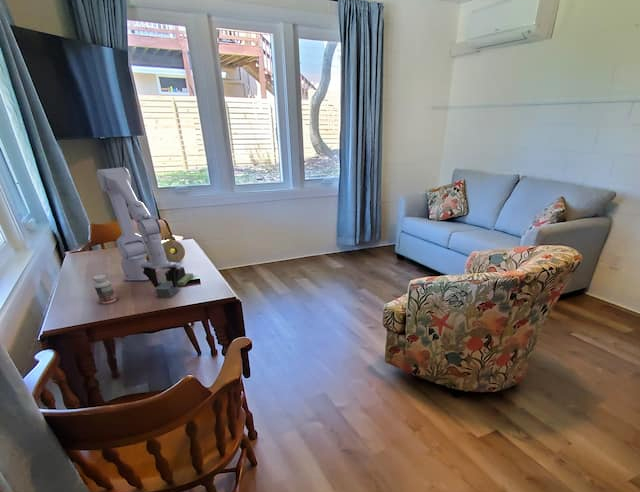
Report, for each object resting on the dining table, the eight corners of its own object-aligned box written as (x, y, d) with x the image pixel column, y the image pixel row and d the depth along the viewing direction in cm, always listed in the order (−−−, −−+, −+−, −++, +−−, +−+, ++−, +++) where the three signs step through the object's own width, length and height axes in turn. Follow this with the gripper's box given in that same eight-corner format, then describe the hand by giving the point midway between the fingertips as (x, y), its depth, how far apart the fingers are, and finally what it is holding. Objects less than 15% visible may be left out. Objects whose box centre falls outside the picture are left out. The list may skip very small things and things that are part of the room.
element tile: (171, 256, 194) (168, 247, 191) (138, 259, 191) (135, 249, 188) (176, 247, 206) (174, 238, 203) (145, 250, 203) (143, 240, 201)
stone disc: (164, 264, 184) (158, 243, 179) (163, 262, 187) (157, 241, 182) (187, 260, 189) (182, 239, 183) (186, 258, 191) (181, 237, 186)
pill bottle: (98, 301, 151) (88, 277, 145) (113, 296, 154) (104, 272, 149) (104, 305, 148) (94, 280, 142) (119, 300, 151) (110, 276, 146)
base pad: (160, 285, 163) (159, 282, 162) (170, 276, 172) (169, 273, 171) (184, 285, 163) (183, 282, 162) (193, 276, 171) (192, 273, 171)
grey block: (157, 297, 153) (155, 289, 151) (166, 289, 159) (163, 281, 157) (170, 297, 153) (168, 289, 151) (178, 289, 159) (176, 281, 157)
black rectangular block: (166, 281, 163) (164, 273, 162) (174, 274, 170) (172, 267, 168) (178, 281, 163) (176, 273, 162) (185, 274, 169) (183, 267, 168)
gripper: (131, 255, 144) (143, 290, 151) (170, 255, 144) (180, 290, 151) (141, 249, 150) (151, 283, 157) (178, 249, 150) (187, 283, 157)
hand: (166, 286), depth 155 cm, fingers open, 7 cm apart
